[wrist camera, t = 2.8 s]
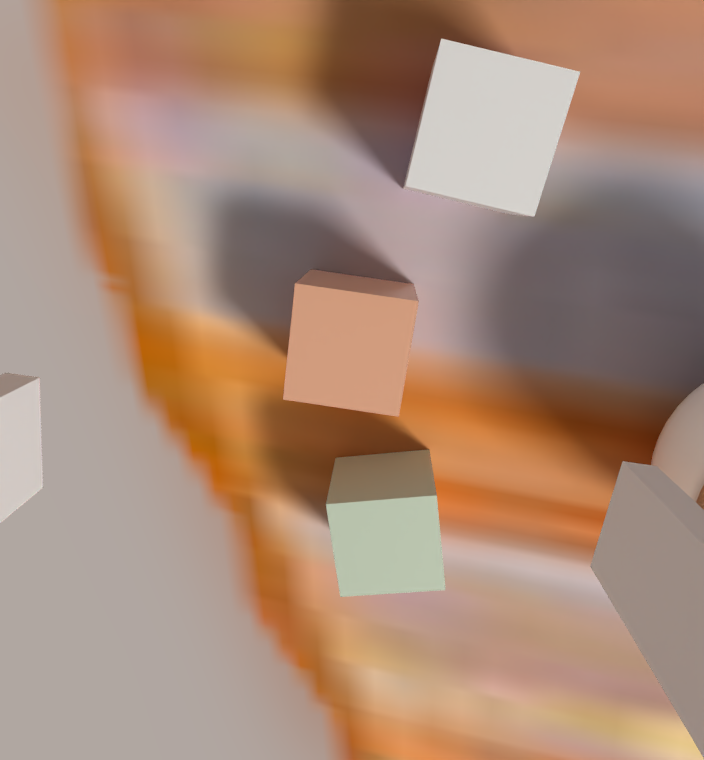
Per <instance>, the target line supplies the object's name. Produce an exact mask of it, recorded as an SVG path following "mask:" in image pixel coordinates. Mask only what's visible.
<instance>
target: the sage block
mask: <svg viewBox="0 0 704 760" xmlns="http://www.w3.org/2000/svg"><path fill="white" fill-rule="evenodd" d="M326 509H327V515H328V522H329V528H330V534H331V541H332V547H333V553H334V559H335V566H336V572H337V578H338V585H339V591H340V597H345V596H361V595H376V594H391V593H406V592H422V591H437V590H445V579H444V569H443V558H442V547H441V537H440V526H439V515H438V505H437V494H436V488H435V482H434V476H433V470H432V464H431V457H430V451H429V449H427V450H416V451H405V452H394V453H383V454H372V455H360V456H349V457H338V458H335V463H334V468H333V473H332V477H331V482H330V487H329V492H328V496H327V501H326Z"/></svg>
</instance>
